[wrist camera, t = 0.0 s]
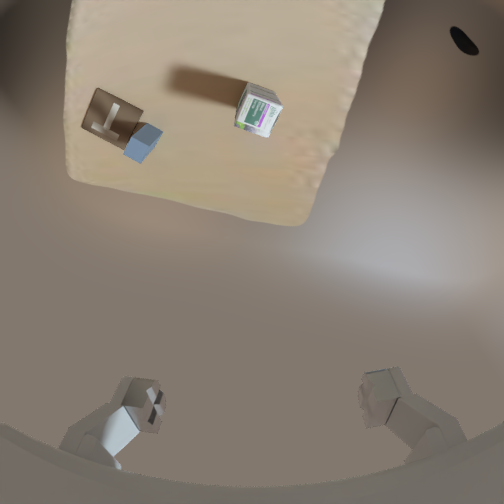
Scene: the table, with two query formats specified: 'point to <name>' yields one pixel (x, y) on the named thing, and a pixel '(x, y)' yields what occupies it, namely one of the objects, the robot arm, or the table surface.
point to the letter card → (111, 118)
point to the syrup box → (257, 110)
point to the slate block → (142, 142)
